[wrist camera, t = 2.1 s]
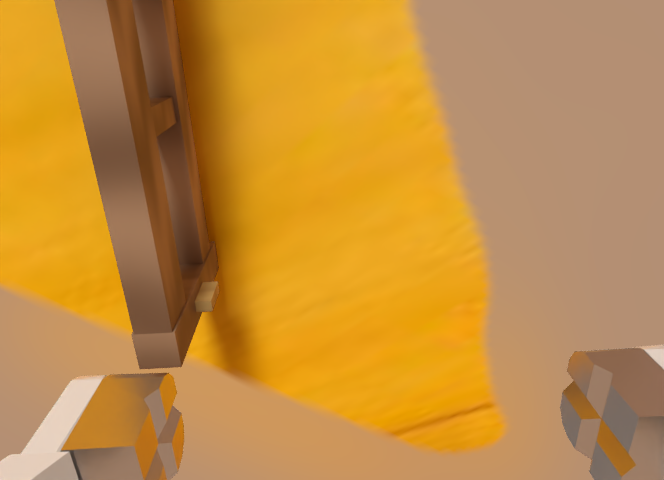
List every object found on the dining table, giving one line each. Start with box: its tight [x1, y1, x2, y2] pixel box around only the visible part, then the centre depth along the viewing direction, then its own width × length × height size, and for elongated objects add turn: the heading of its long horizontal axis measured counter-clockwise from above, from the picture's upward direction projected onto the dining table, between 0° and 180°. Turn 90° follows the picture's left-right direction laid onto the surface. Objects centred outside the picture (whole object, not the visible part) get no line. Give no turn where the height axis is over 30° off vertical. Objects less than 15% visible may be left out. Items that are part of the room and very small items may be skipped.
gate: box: [54, 0, 219, 369], centre depth 21 cm, size 20×3×10 cm, turn 2°
